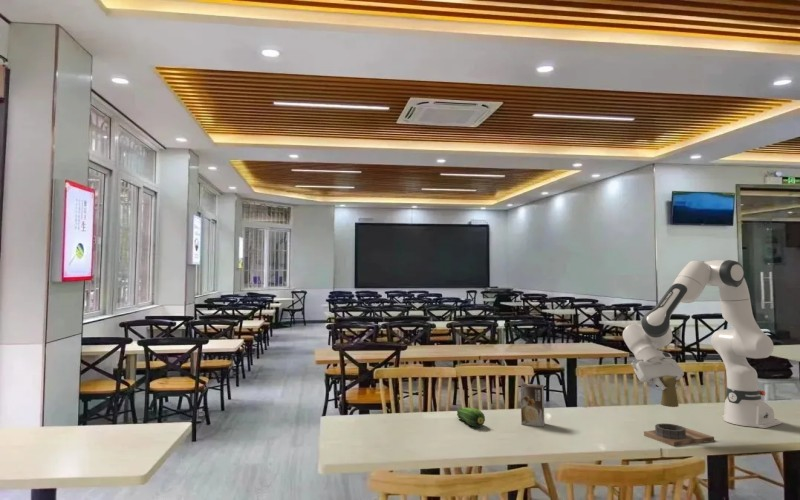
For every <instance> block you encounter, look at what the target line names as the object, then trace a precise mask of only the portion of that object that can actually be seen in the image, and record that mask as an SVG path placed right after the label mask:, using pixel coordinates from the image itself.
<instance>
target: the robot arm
mask: <svg viewBox="0 0 800 500" xmlns="http://www.w3.org/2000/svg"><path fill="white" fill-rule="evenodd" d="M674 279H675V280H674V281H673V283H672V284H671V285H670V287H669V288H668V289H667V290H666V292H665V293H664V295H663V296H662V298H660V300H659V301H658V303H657V304H656V305H655V307H654V308H652V309H651V310H649V311H647V312H646V313H645V314H644V315H643V316H642V318H641V324H640V323H639V324H638V323H630V324H628V325H627V326H626V327H624V329H623V331H622V338H623V339H622V340H623V341H624V343H625V345H626V346H627V348H628V349H629V351H630V352H632V354H633V355H634V358H635V359H634V360H632V361H631V366H632V368H633V370H634V374H635V375H636V377H637V379H638V380H639V381H640V382H641V383H649V382H650V383H651V382H653V383H654V384H655V385H656V386H658V387H659V388H660V389H661V391H662V390H666V389H667V386H666V385H665V384H663V383H662V381H661V379H662V377H663V376H673V377H675V378H676V380H677V381H678V380H681V378H683V376H684V374H685V372H684V370H683V369H682V368H681V366H680V364H679V363H678V362H677V361H676V360H675V359H673V355H672V354H671V353H669V352H665V351H663V350H660V349H662V348H665V347H667V346H668V345H670V344H671V343H672V342H673V331H672V328H671V324H670V323H671V316H672V315H673V313H674V312H675V310H676V309H677V308H678V307H679V305H680V304H681V303H684V304H691V303H694V302H696V301H697V299H698V298H700V296H701V294H702V293H703V291H704V289H705V288H706V286H707V287H708V286H709V287H718V288H719V290H718V292H719V303H720V309H721V315H722V318H723V319H724V321H726V322H727V323H729V324H730V326H731V327H732V328H733V329H720V330H716V331H714V332H713V333H712V335H711V337H710V344H711V346H712V348H713V349H714V350H715V351H716V352H717V353H718V355H719V356H720V358H721V359H722V362H723V365H724V367H725V373H726V387H725V394H726V398H725V400H724V412H723V414H722V418H723V420H724V422H727V423H729V424H732V425H733V424H734V425H737V426H744V427H751V428H752V427H753V428H760V429H766V428H771V427H774V426H778V425H782V421H781V420H780V419H777V418H775V411H774V409H773V407H772V406H770V405H769V404H768V403H766V401H764V400H763V399H762V396H766V392H765V390H761V389H760V390H759V384H758V373H757V370H756V369H755V368H754V367H753V366H751V365H750V363H749V362H748V359H766V358H769V357H770V356H771V355H772V353H773V352H774V342H773V340H772V339H771V337H770V336H768V335H767V334H766V333H765V332H764V331H762V329H761V328H760V326H759V324H758V323H757V321H756V319H755V317H754V314H753V308H752V302H751V296H750V290H749V288H748V283H747V281H746V279H745V269H744V267H743V265H742V264H741V263H740V262H739V261H736V260H731V259H727V260H725V259H714V260H708V261H702V260H696V259H695V260H691V261H689V262H688V263H687V264H686V265H685V266H684V267H683V268H682V269H681V270H680V272H679V273H678V275H677V276H676V278H674ZM747 358H748V359H747ZM675 388H676V390H677V389H679V385H678V384H677V383H676V385H675Z"/></svg>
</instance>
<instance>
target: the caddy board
mask: <svg viewBox="0 0 800 500" xmlns="http://www.w3.org/2000/svg"><path fill="white" fill-rule="evenodd" d="M643 436H645V437H647V438H650V439H653V440H656V441H658V442H660V443H661V442H662V443H664V444H666V445H669V446H672V447H679V446H686V445H694V444H700V443H707V442H709V443H710V442H715V437H714V436H713V435H709V434H706V433H703V432H700V431H697V430H694V429H690V428H687V427H685V426H681V425H679V424H674V423H656V424H655V429H654V430H646V431H643Z"/></svg>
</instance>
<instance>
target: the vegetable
mask: <svg viewBox="0 0 800 500" xmlns="http://www.w3.org/2000/svg"><path fill="white" fill-rule="evenodd" d="M456 416H457V417H458V419H460V421H461V420H462V421H464V422H465V423H466V424H468V425H469V426H471V427H473V428H481V427H482V426H483V425H484V423H485V421H486V417H485V413H483V411H481V410H480V409H478V408H473V407H459V408H458V409H457V411H456Z"/></svg>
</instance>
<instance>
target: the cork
mask: <svg viewBox="0 0 800 500" xmlns="http://www.w3.org/2000/svg"><path fill="white" fill-rule="evenodd" d="M677 381H678V380H676V378H675V377H673V376H663V377H662V379H661V382H662V383H663V384H665V385H666V386H667V389H666V390H661V391H662V392H661V401H660V406H663V407H668V408H670V407H671V408H677V407H679V400H678V395H677V394H678V393H677V389H676V388H675V385H676V384H677Z"/></svg>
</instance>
